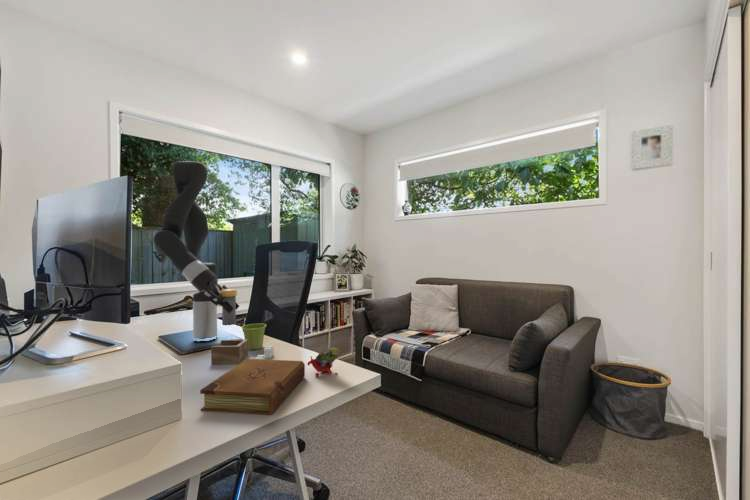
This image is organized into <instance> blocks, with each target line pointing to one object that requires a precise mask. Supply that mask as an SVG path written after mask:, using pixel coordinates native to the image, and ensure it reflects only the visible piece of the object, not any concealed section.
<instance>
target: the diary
mask: <svg viewBox="0 0 750 500" xmlns="http://www.w3.org/2000/svg"><path fill="white" fill-rule="evenodd" d="M305 367H306V366H305V363H304V361H302V360H287V359H280V360H279V359H265V360H263V359H255V358H245V359H244V360H243V361H242V362H241V363H240V364H236V366H234V367H233V368H231V369H229V370H228V371H227V372H225V373H224V374H222V375H221V376H219V377H217V379H215V380H213V381H212V382H211V383H209V384H207V385H206V386H204V387H203V388H202V389H200V391H199V393H200V395H203V397H204V401H203V402H204V403H203V404H204V406H202V407H200V411H201V412H213V413H214V412H215V413H230V414H231V413H232V414H245V415H246V414H249V415H259V416H261V415H264V416H265V415H266V416H272V415H273V413H275V411H276V410H277V409H278V408H279V407H280V405H281V404H282V403H283V402H284V401H285V400H286V399H287V397H289V395H290V394H291V393H292V391H294V389H295V388H296V387H297V386H298V385H299V383H300V382H302V380H303V379H304V378H305V376H306V375H305V373H306V371H305Z"/></svg>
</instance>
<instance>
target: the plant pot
mask: <svg viewBox="0 0 750 500" xmlns="http://www.w3.org/2000/svg"><path fill="white" fill-rule="evenodd" d="M266 327H267V323H249V324H245V325H242V326H241V329H242V332H243V336H244V339H248V351H252V350H253V351H254V350H259V349H262V348H263V345H264V337H265V331H266Z"/></svg>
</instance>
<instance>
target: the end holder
mask: <svg viewBox="0 0 750 500" xmlns="http://www.w3.org/2000/svg"><path fill="white" fill-rule="evenodd" d="M248 356H249V350H248V339H245V338H244V339H221V340H220V345H211V347H210V360H211V362H210V363H211V364H210V365H239V364H240V363H242V362H243V361H245V360H246V359H247V357H248Z"/></svg>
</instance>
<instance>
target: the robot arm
mask: <svg viewBox="0 0 750 500" xmlns="http://www.w3.org/2000/svg"><path fill="white" fill-rule="evenodd" d="M172 176H173V182H174V185H175V189H176V194H177V196H176V197H175V198H174V199H173V200H172V201H171V202H169V205H168V206H167V208H166V210H165V213H164V216H163V219H162V222H161V223H162V225H161V227H162V228H161V230H159V231H157V232H156V233H155V235H154V237H153V243H154V248H155V250H156V251H157V253H158V254H159V255H161V256H163V257H168V258H169V260H170V261H171V263H172V265H173V266H174V267H175V268H176V269H177V270H178V271H179V272H180V273H181V275H182V276H183V277H185V279H186V280H187V281H188V283H190V284H191V285H192V286H193V287H195V289H196V290H197V291H198V292H195V293H194V294H193V295H192V316H193V318H192V322H193V323H192V325H193V326H192V328H193V329H192V330H193V333H192V335H193V337H194V338H199V339H205V338H212V337H215V336H217V337H218V306H219V307H221V308H222V307H223V308H224V309H225V310H226V311H227V312H228V313H230V312H231V311H232V310H233V309H234V308H233V307H232V306H231V305H230V304H229V303H228V302H227V301H226V300H225V299H224V297H222V293H221V290H225V289H229V288H228V287H227V286H226V285H225V284H224V285H221V284H219V281H218V280H219V269H218V265H217V264H216V263H215V262H203V261H201V260H200V259H199V255H200V251H201V248H202V246H203V245H204V243H205V242H206V239H207V237H208V235H209V224H208V217H207V215H206V213H205V212H204V210H203V209H202V208H201V206H200V205H199V204H198V203H197V201H196V200H197V198H198V196H199V194H200V193H201V191H202V190H203V187H204V186H205V183H206V181H207V178H208V170H207V167H206V166H205V164H204V163H203V162H200V161H188V160H186V161H182V160H181V161H179V160H178V161H175V162H174V164H173V166H172ZM182 234H183V237H184V241H185V242H183V241H182V240H181V238H182ZM225 301H226V302H225ZM239 308H240V305H239V304H238V303H237V302H236V310H238V309H239Z"/></svg>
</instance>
